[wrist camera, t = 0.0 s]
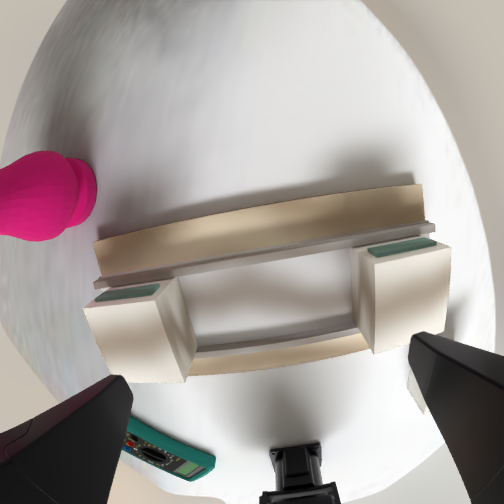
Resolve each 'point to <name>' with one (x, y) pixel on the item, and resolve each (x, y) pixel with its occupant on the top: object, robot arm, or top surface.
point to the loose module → (417, 393)
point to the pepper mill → (45, 195)
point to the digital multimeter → (166, 452)
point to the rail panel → (270, 286)
